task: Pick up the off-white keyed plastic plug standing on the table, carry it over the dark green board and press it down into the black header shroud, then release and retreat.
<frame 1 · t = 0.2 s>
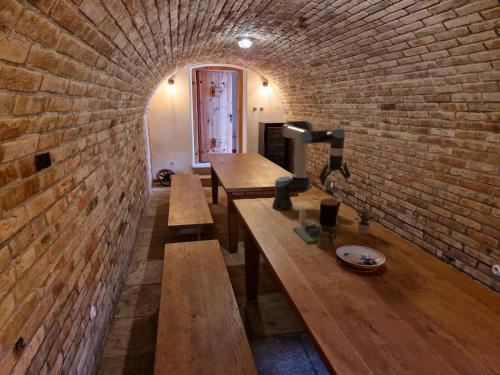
hand: (333, 189, 192), 27 cm above the table, fingers open, 13 cm apart
house plant: (361, 233, 196), on the table
plastic cup: (332, 215, 225), on the table
plug: (302, 224, 210), on the table
coffee jar: (327, 227, 205), on the table
board: (311, 234, 194), on the table
wooden mug: (328, 247, 178), on the table
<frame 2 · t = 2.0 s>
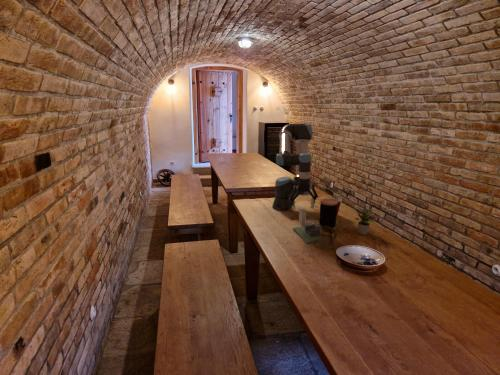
hand: (302, 209, 207), 11 cm above the table, fingers open, 13 cm apart
nothing on the table moved.
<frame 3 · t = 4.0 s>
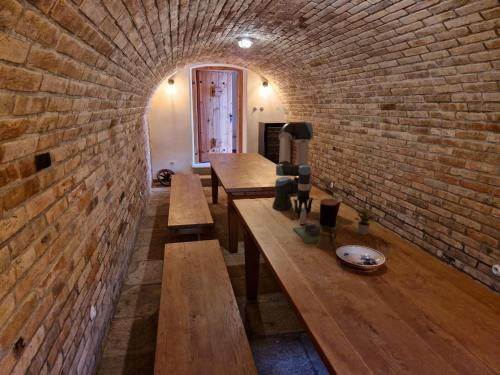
hand: (302, 222, 210), 1 cm above the table, fingers closed on plug, 3 cm apart
plug: (302, 222, 210), point 1 cm above the table, touching gripper
everything else where it was.
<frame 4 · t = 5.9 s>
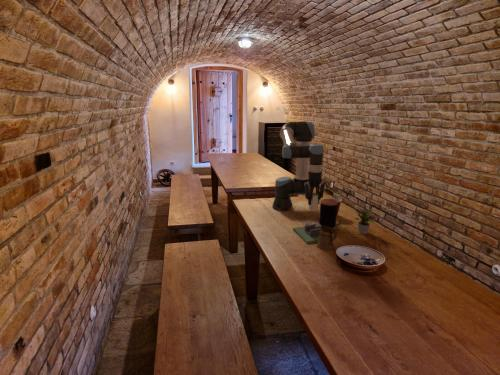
hand: (313, 209, 188), 17 cm above the table, fingers closed on plug, 3 cm apart
plug: (313, 209, 189), point 17 cm above the table, touching gripper
everything else where it was.
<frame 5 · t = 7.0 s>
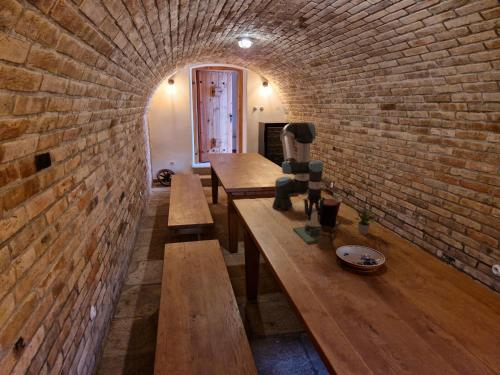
hand: (312, 224, 191), 7 cm above the table, fingers closed on plug, 3 cm apart
plug: (312, 225, 191), point 7 cm above the table, touching gripper
everything else where it was.
when the fingers open (4 cm above the table, at t = 7.8 s): plug drops 2 cm, resting on board.
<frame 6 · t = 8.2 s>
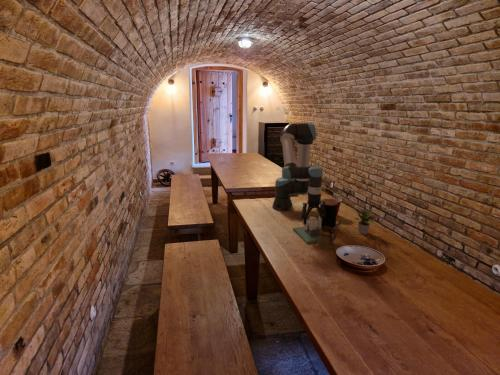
hand: (312, 228, 192), 5 cm above the table, fingers open, 8 cm apart
plug: (312, 233, 193), point 1 cm above the table, touching board
everything else where it was.
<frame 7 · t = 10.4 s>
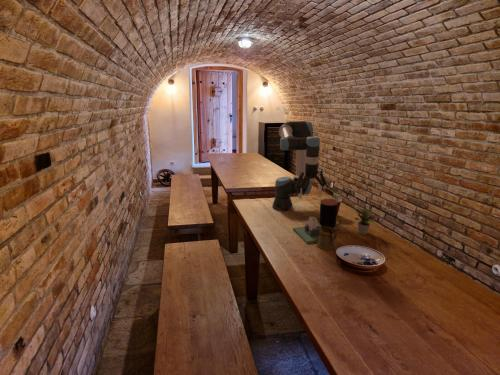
hand: (310, 197, 193), 23 cm above the table, fingers open, 13 cm apart
nothing on the table moved.
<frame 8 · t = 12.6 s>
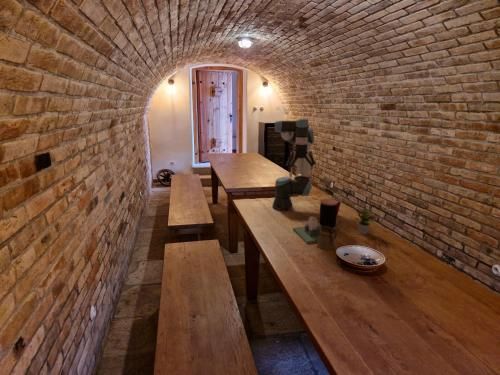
hand: (300, 176, 207), 32 cm above the table, fingers open, 13 cm apart
nothing on the table moved.
at the end: plug 0.2 cm from the target spot on the board, point 1.5 cm above the board's base; plug tilted 0°; the gripper is holding nothing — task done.
